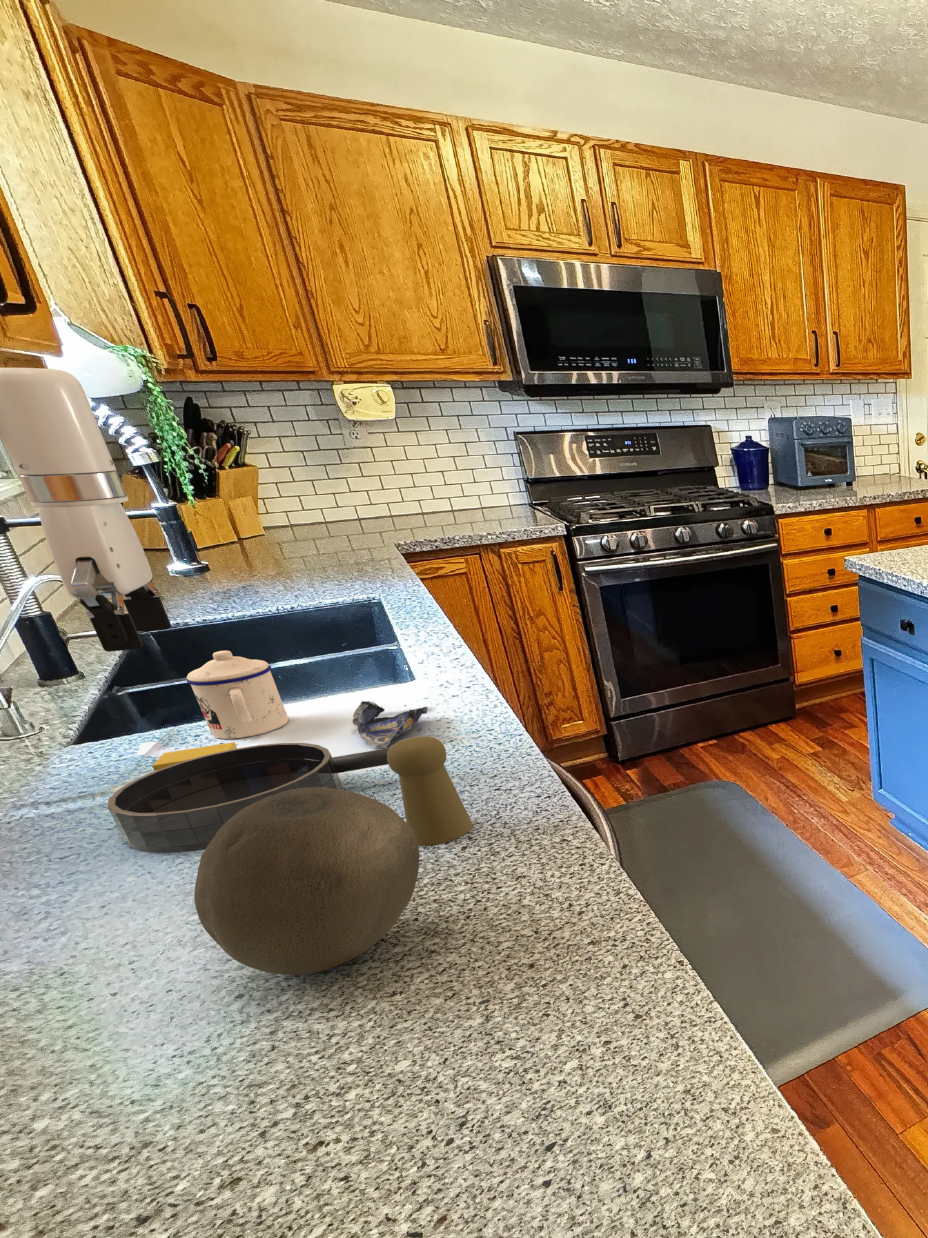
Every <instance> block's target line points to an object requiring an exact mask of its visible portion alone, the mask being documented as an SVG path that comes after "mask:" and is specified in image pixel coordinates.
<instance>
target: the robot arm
mask: <svg viewBox="0 0 928 1238" xmlns="http://www.w3.org/2000/svg"><path fill="white" fill-rule="evenodd" d="M0 440H1V442H2V444H3V445H4V448H5V450H6V452H7V454H8V457H9V459H10V462H11V463H12V465H13V468H14V470H15V473H16V474H17V475H18V476H17V477H18V479H19V481H20V483H21V485H22V488H23V489H24V492H25V494H26V496H27V498H28V501H29V503H30V505H31V507H32V508H37V511H38V515H39V519H40V523H41V524H40V525H41V527H42V531H43V534H44V537H45V541H46V543H47V546H48V548H49V551H50V553H51V556H52V559H53V561H54V564H55V567H56V570H57V572H58V575H59V577H60V580H61V582H62V585H63V586H64V587H63V588H64V589H65V592H66V593H67V594H68V595H69V596H70V597H72V598H74V599H79V603H80V605H82V606H83V607H84V611H85V614H86V616H87V618H88V619H89V620H90V622H91V624H92V627H93V629H94V631H95V633H96V636H97V638H98V640H99V642H100V645H101V647H102V650H103V651H105V652H109V653H110V652H111V653H112V652H121V651H130V650H138V649H139V650H140V649H141V648H142V647H144V643H143V641H142V638H141V636H140V633H143V632H153V631H165V630H170V629H171V628H172V623H171V621H170V619H169V616H168V614H167V611H166V609H165V607H164V604H163V602H162V599H161V596H159V595H160V594H159V590H158V589H157V587H156V586H155V584H154V583H153V580H154V578H153V572H152V569H151V565H150V563H149V560H148V557H147V554H146V553H145V551H144V548H143V546H142V544H141V541H140V539H139V536H138V534H137V533H136V530H135V528H134V526H133V524H132V522H131V520H130V519H129V516H128V515H127V512H126V510H125V509H124V507H123V505H122V503H126V502H129V497H128V495H127V493H126V490H125V488H124V484H123V483H122V480H121V479H120V475H119V473H118V471H117V468H116V466H115V463H114V460H113V458H112V456H111V453H110V451H109V449H108V445H107V444H106V442H105V439H104V436H103V434H102V432H101V429H100V426H99V424H98V421H97V419H96V417H95V415H94V412H93V409H92V407H91V404H90V402H89V399H88V396H87V395H86V392H85V390H84V387H83V386H82V384H81V382H80V381H79V380H78V379H77V378H76V377H75V375H73V374H71V373H70V372H67V371H66V370H61V369H55V368H42V367H41V368H40V367H39V368H38V367H37V368H36V367H0ZM124 597H125V598H126V599H125V598H124ZM109 599H111V601H110V600H109ZM125 609H126V611H127V613H125Z"/></svg>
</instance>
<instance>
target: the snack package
mask: <svg viewBox="0 0 928 1238" xmlns="http://www.w3.org/2000/svg"><path fill="white" fill-rule="evenodd" d="M404 707H407V705H406V704H405V705H404ZM384 712H385V708H384V707H383V705H381V706H380V705H379V704H377V703H376V702H374V701H370V700H365V701H363V700H362V701H361V702H360V704H359V705H358V706H357V708H356V709H355V710H354V712H353V716H352V717H353V718H352V721H351V722H352V725H354V726H355V727H357V732H358V735H359V736H360V738H361V739H362V740H364V741H365V742H367V743H368V745H369V746H371V747H374V748H377V749H386V748H388V747H389V745H390V743H391V741H392V740H394V739H396V738H397V737H399V736H402V734H404V733H406V732H408V731H410V730H411V729H413V728H415V726H416V724H417V723H418V721H419V719H420V718H421V717H422V716H423V715H426V714H427V712H428V706H423V707H420V708H419V707H418V708H416V709H409V710H406V711H403V712H400V713H398V714H396V715H394V716H383V717H379V716H380V715H381V713H384Z"/></svg>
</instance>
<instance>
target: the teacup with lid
mask: <svg viewBox="0 0 928 1238" xmlns="http://www.w3.org/2000/svg"><path fill="white" fill-rule="evenodd" d="M212 658H213V659H211V660H209V661H207V662H206V663H205V664H203V665H202V666H201V667H198V668H197V669H194V670H192V671H190V672H189V673H188V674H187V676H186V683H187V684H189V685H190V687H191V689H192V691H193V693H194V696H195V698H196V701H197V703H198V706H199V708H200V710H201V713H202V715H203V717H204V720H205V722H206V725H207V727H208V729H209V731H210V734H211V735H212V736H213V737H214V738H216V739H222V740H230V739H231V740H233V739H242V738H243V739H244V738H249V737H254V736H259V735H262V734H266V733H270V732H272V731H276V730H278V729H280V728H281V727H284V726H285V725H286V724H287V723H288V722H289V716H288V715H287V711H286V709H285V706H284V702H283V701H282V698H281V696H280V693H279V691H278V688H277V684H276V682H275V679H274V677H273V675H272V672H271V670H272V666H271V665H270V663H268V662H267V661H265V660H262V659H250V658H247V657H243V656H234V655H233V653H232V651H230V650H219V651H216V652H215V651H214V652H213V654H212Z"/></svg>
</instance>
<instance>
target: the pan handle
mask: <svg viewBox="0 0 928 1238" xmlns="http://www.w3.org/2000/svg"><path fill="white" fill-rule="evenodd" d="M385 748H386V749H381V748H379V749H375V750H368V751H361V752H355V753H349V754H345V755H339V756H333V757H332V758H330V759H329V765H330V769H331V771H332V772H333V773H338V774H341V773H346V772H353V771H359V770H364V769H370V768H371V769H372V768H376V767H382V766H389V764H388V762H387V752H388V750H389V748H390V747H385Z"/></svg>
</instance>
